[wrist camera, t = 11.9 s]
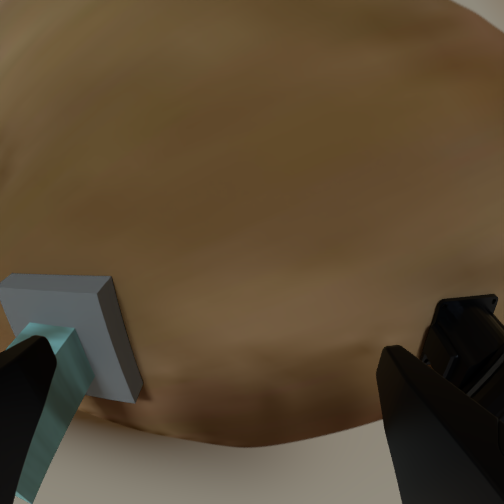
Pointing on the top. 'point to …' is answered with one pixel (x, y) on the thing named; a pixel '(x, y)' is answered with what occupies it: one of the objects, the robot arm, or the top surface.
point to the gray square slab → (79, 324)
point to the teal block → (54, 402)
